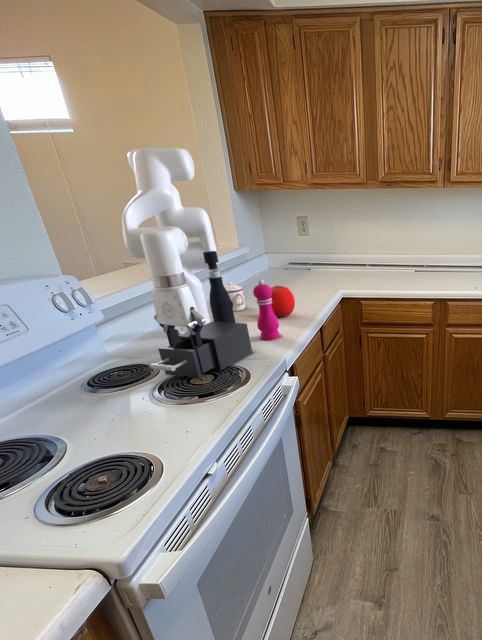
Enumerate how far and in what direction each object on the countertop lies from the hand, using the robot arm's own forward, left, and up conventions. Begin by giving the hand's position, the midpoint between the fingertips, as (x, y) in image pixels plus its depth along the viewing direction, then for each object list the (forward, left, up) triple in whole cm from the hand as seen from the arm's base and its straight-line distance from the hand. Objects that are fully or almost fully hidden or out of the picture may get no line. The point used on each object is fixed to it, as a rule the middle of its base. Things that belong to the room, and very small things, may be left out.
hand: (186, 345), depth 114 cm
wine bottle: (-7, +24, -9) cm, 26 cm away
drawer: (0, 0, -8) cm, 8 cm away
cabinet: (0, +11, -9) cm, 14 cm away
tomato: (-8, +57, -9) cm, 58 cm away
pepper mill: (+3, +33, -9) cm, 34 cm away
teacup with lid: (-34, +63, -9) cm, 72 cm away
